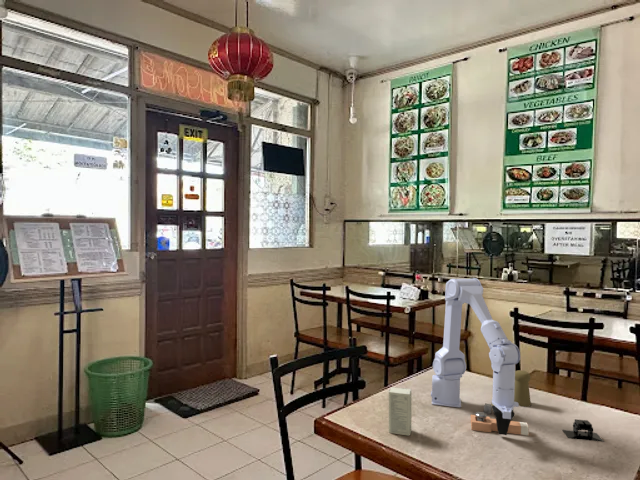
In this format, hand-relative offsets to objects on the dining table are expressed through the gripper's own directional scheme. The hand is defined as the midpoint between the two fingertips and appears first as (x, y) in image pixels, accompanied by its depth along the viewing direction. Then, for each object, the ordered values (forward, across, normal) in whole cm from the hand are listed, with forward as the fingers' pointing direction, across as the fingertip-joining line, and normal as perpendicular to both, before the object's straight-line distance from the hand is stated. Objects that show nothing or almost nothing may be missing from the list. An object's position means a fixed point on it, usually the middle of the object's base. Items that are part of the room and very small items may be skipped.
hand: (502, 433), depth 127 cm
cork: (+1, +29, -10) cm, 30 cm away
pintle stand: (+1, +11, +1) cm, 11 cm away
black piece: (+2, +8, -23) cm, 24 cm away
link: (+1, +5, 0) cm, 5 cm away
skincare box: (+1, -5, +28) cm, 29 cm away
